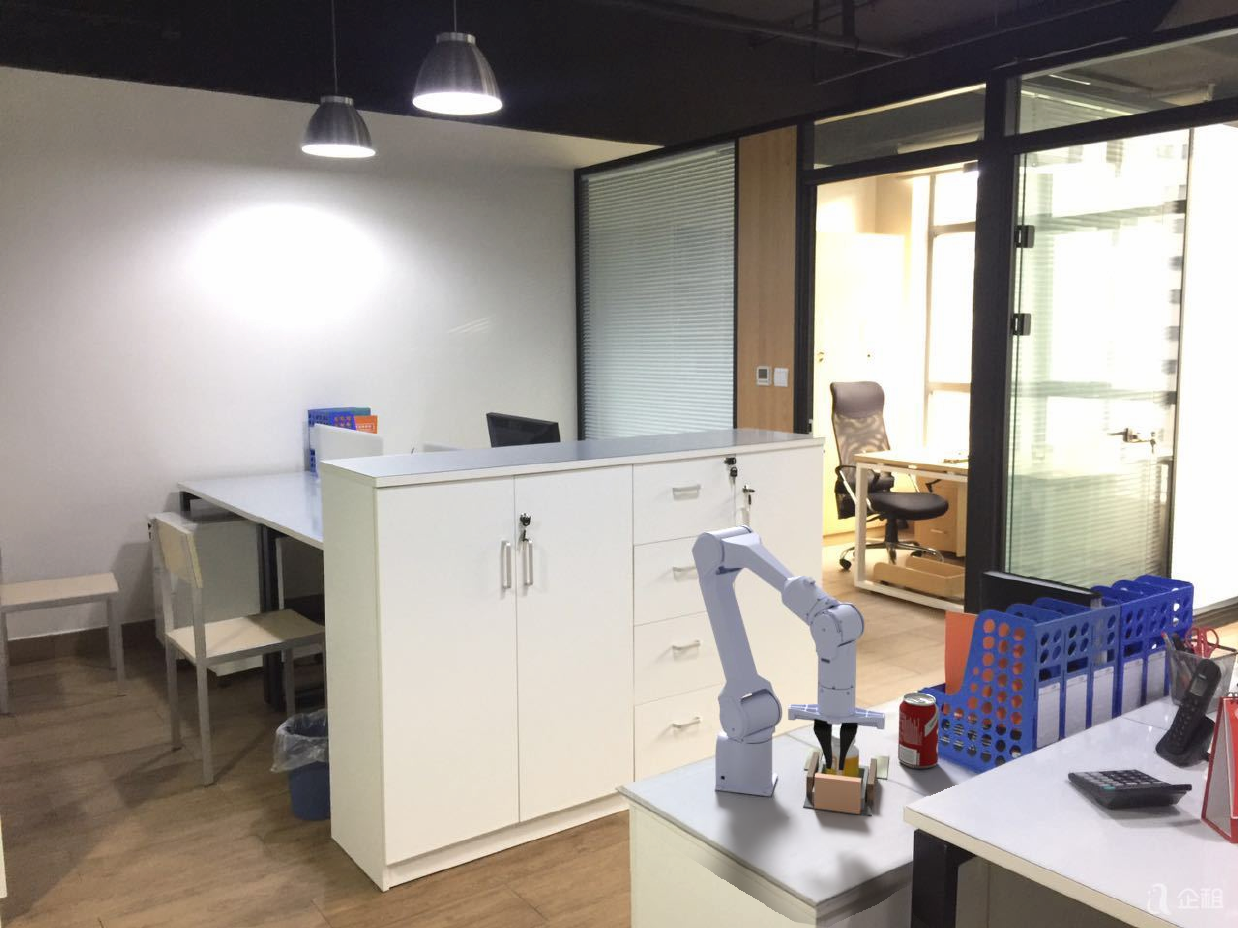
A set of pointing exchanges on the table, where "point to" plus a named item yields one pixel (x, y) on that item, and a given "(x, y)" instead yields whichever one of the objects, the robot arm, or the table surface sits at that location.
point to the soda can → (918, 731)
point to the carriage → (840, 790)
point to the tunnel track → (876, 771)
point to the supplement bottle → (850, 761)
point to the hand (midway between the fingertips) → (835, 766)
